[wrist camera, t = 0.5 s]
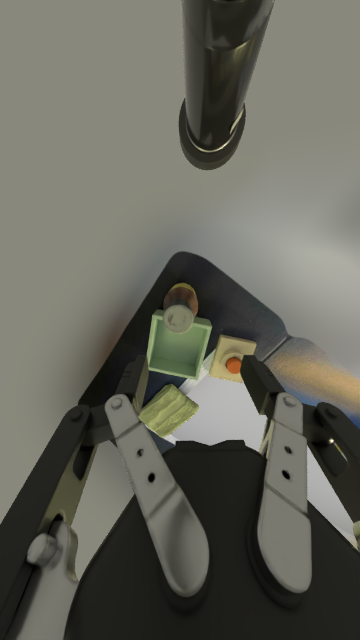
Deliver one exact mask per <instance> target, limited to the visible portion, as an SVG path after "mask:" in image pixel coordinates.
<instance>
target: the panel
mask: <svg viewBox="0 0 360 640" xmlns="http://www.w3.org/2000/svg"><path fill="white" fill-rule="evenodd" d="M256 345H257V344H256V343H255V342H254V341H251V340H246V339H241V338H236V337H231V336H226V335H221V334H220V337H219V340H218V344H217V347H216V350H215V354H214V357H213V361H212V364H211V368H210V371H209V374H210V376H211V377H216V378H220V379H225V380H230V381H234V382H240V383H242V382H243V379H242V377H241V375H240V373H238V374H232V373H230V372H229V371H228V368H227V366H226V363H227V361H228V360H229V359H230V358H238V359H239V360H240V362H241V363H242V359H243V356H244V355H253V353H254V350H255V348H256Z"/></svg>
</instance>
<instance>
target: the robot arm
mask: <svg viewBox="0 0 360 640" xmlns="http://www.w3.org/2000/svg"><path fill="white" fill-rule="evenodd" d="M274 1H275V0H181V2H182V28H183V51H184V78H185V107H186V119H185V121H186V132H187V136H188V139H189V141H190V143H191V144H192V146H193V147H194V148H195V149H196V150H197V151H199V152H201V153H203V154H215V153H218V152H220V151H221V150H223V149H224V148H225V147H226V146H227V145H228V144H229V143H230V141H231V140H232V138H233V136H234V134H235V132H236V129H237V125H238V121H239V119H240V118H241V116H242V112H243V110H242V107H243V104H244V101H245V97H246V94H247V91H248V88H249V84H250V81H251V78H252V74H253V70H254V68H255V64H256V61H257V58H258V54H259V51H260V47H261V44H262V41H263V38H264V35H265V31H266V27H267V25H268V21H269V18H270V14H271V11H272V8H273V5H274ZM243 109H244V108H243ZM241 110H242V111H241ZM148 375H149V368H148V359H147V355H138V356H137V358H136V361H135V362H130V363H129V364H128V365H127V366H126V368H125V370H124V373H123V375H122V378H121V380H120V383H119V385H118V388H117V390H116V392H115V395H114V396H112V397H111V398H110V399H109V400H108V401H107V402H106V403H105V404H103V405H100V406H97V407H94V408H89V406H87V405H83V404H82V405H78V406H75V407H73V408H72V409H71V410H69V411H68V412H67V413H66V414H65V416H64V417H63V419H62V421H61V423H60V424H59V426H58V428H57V429H56V431H55V433H54V434H53V436H52V438H51V439H50V441H49V443H48V445H47V446H46V448H45V450H44V451H43V453H42V455H41V457H40V458H39V460H38V462H37V463H36V465H35V467H34V468H33V470H32V472H31V473H30V475H29V477H28V478H27V480H26V482H25V484H24V486H23V487H22V489H21V490H20V492H19V494H18V495H17V497H16V499H15V501H14V502H13V504H12V506H11V508H10V509H9V511H8V513H7V514H6V516H5V518H4V519H3V521H2V523H1V524H0V640H360V430H359V429H358V428H357V427H356V426H355V425H354V424H353V423H352V422H351V420H350V419H349V418H348V417H347V416H346V415H345V414H344V413H343V412H342V411H341V410H340V409H338V408H337V407H335V406H333V405H331V404H329V403H325V402H321V403H318V405H317V406H316V407H315V406H311V405H307V404H303V403H301V402H300V401H299V400H298V399H297V398H296V397H295V396H293V395H291V394H289V393H286V391H285V390H284V389H283V387H282V386H281V385H280V383H279V382H278V380H277V379H276V378H275V376H274V375H273V374H272V372H271V371H270V369H269V368H268V367H267V366H266V365H265V364H264V363H263V362H261V361H258V360H257V358H256V357H255V356H254V355H244V356H243V359H242V363H241V367H240V375H241V377H242V379H243V381H244V384H245V386H246V388H247V390H248V392H249V394H250V396H251V398H252V400H253V402H254V404H255V406H256V409H257V411H258V413H259V415H266V416H267V421H266V425H265V429H264V434H263V439H262V443H261V447H260V450H259V452H257V451H256V450H253V449H252V448H250V447H247V446H246V445H245V442H244V440H226V441H223V442H220V443H218V444H215V445H212V446H209V445H206V444H202V443H199V442H195V441H176V447H173V448H171V449H169V450H167V451H166V452H164V453H163V454H162V455H161V454H160V452H159V450H158V448H157V446H156V445H155V443H154V441H153V439H152V437H151V435H150V434H149V432H148V430H147V428H146V426H145V425H144V423H143V422H142V421H140V420H139V418H138V416H140V413H141V408H142V404H143V399H144V394H145V390H146V385H147V380H148ZM113 438H115V441H116V444H117V447H118V449H119V452H120V455H121V457H122V460H123V463H124V466H125V469H126V472H127V474H128V477H129V480H130V483H131V486H132V489H133V492H134V496H133V497H132V499H131V500H130V501H129V503H128V505H127V506H126V508H125V509H124V511H123V512H122V514H121V515H120V517H119V518H118V520H117V521H116V523H115V524H114V526H113V527H112V529H111V530H110V532H109V533H108V535H107V536H106V538H105V539H104V541H103V542H102V544H101V545H100V547H99V548H98V550H97V552H96V553H95V554H94V556H93V558H92V559H91V561H90V562H89V564H88V566H87V567H86V569H85V571H84V573H83V575H82V577H81V579H80V581H78V579H77V577H76V573H75V558H76V553H77V548H78V537H77V534H76V532H75V531H74V530H73V529H72V528H71V524H72V522H73V519H74V516H75V513H76V509H77V507H78V503H79V501H80V498H81V495H82V492H83V488H84V486H85V483H86V480H87V477H88V474H89V471H90V468H91V465H92V462H93V459H94V456H95V453H96V450H97V447H98V444H99V443H102V442H105V441H107V440H110V439H113ZM333 441H334V442H335V443H336V445H337V446H338V447H339V449H340V450H341V452H342V453H343V454H344V456H345V457H346V459H347V461H346V459H345V458H344V457H343V455H342V454H341V453H340V451H339V450H338V448H337V447H336V446H335V444H334V443H333ZM307 445H308V447H309V448H310V450H311V452H312V454H313V455H314V457H315V459H316V460H317V462H318V464H319V466H320V467H321V469H322V471H323V472H324V474H325V476H326V477H327V479H328V481H329V483H330V484H331V485H332V488H333V489H334V491H335V493H336V494H337V496H338V498H339V499H340V501H341V503H342V504H343V506H344V508H345V510H346V511H347V513H348V514H349V516H350V518H351V520H352V521H353V523H354V525H353V531H354V535H355V538H356V541H357V548H358V550H359V551H358V550H357V549H356V548H355V547H354V546H353V545H352V544H351V543H350V542H349V541H348V540H347V539H346V538H345V537H344V536H343V535H342V534H341V533H340V532H339V531H338V530H337V529H336V528H335V527H334V526H333V525H332V524H331V523H330V522H329V521H328V520H327V519H326V518H325V517H324V516H323V515H322V514H321V513H320V512H319V511H318V510H317V509H316V508H315V507H314V506H313V505H312V504H311V503H310V502H309V501H308V500H307Z"/></svg>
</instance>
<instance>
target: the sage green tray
mask: <svg viewBox="0 0 360 640" xmlns="http://www.w3.org/2000/svg"><path fill="white" fill-rule="evenodd" d="M163 314H164V310H159V309H158V310H157V311H156V312H155V313H154V314H153V315H152V322H151V330H150V337H149V344H148V351H147V359H148V368H149V370H152V371H157V372H161V373H166V374H171V375H176V376H180V377H185V378H190V379H195V380H198V377H199V373H200V369H201V366H202V362H203V358H204V355H205V351H206V347H207V343H208V340H209V336H210V332H211V329H212V325H211V323H210V320H209V319H204V318H199V317H194V323H193V325H192V327H191V329H190V330H189V331H187V332H185V333H182V334H176V333H172V332H170V331H169V330H167V329H166V327H165V325H164V323H163Z"/></svg>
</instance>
